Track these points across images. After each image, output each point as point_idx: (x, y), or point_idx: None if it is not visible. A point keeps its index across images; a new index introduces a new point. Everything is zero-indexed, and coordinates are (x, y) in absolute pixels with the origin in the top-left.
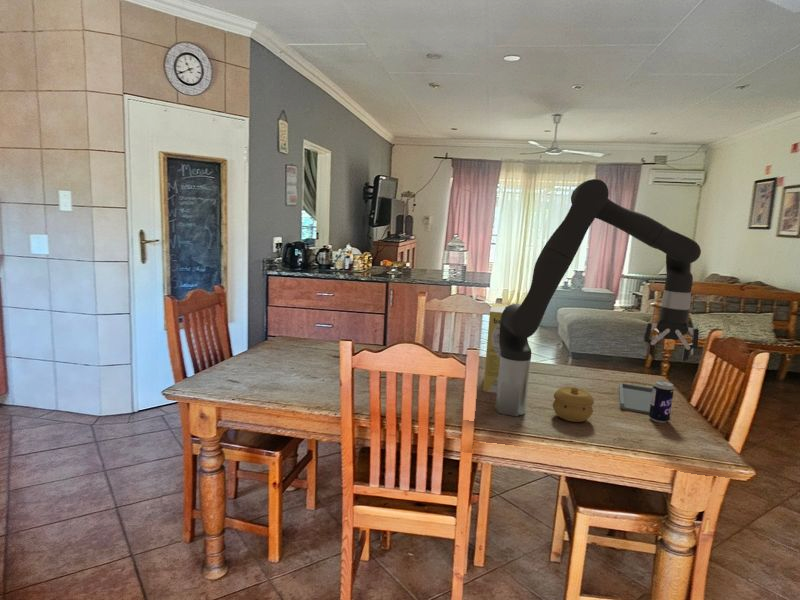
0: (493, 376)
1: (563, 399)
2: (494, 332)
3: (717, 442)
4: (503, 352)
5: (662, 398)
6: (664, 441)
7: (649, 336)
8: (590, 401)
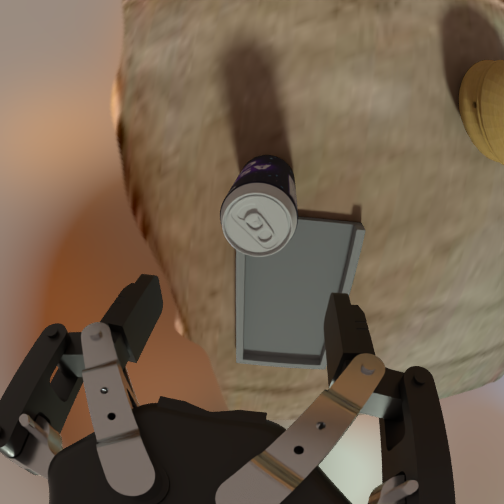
0: None
1: None
2: None
3: (141, 93)
4: None
5: (265, 172)
6: (273, 25)
7: (410, 412)
8: (491, 74)
